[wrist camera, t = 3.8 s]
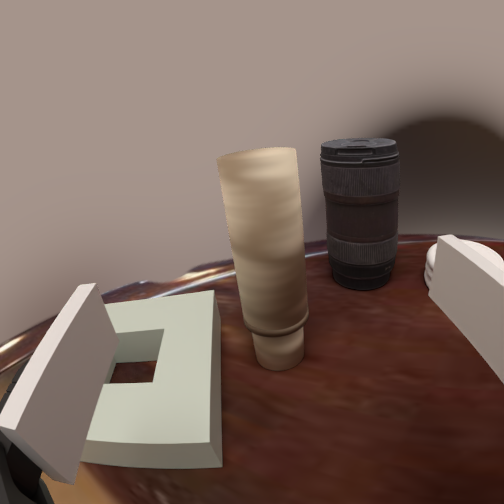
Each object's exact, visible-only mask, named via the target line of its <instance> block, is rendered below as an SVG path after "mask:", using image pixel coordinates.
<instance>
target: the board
mask: <svg viewBox="0 0 504 504" xmlns="http://www.w3.org/2000/svg"><path fill="white" fill-rule="evenodd" d="M104 305H105V308H106V310H107V313H108V315H109V318H110V320H111V322H112V325H113V327H114V330H115V332H116V334H117V337H118V339H119V343H118V346H117V349H116V351H115V354H114V357H113V359H112V362H111V365H110V368H109V370H108V373H107V376H106V379H105V382H104V385H103V388H102V391H101V393H100V396H99V399H98V402H97V406H96V409H95V412H94V415H93V418H92V421H91V425H90V428H89V431H88V434H87V438H86V441H85V445H84V448H83V452H82V456H81V459H80V461H82V462H89V463H96V464H104V465H114V466H124V467H138V468H162V469H192V468H216V467H223V463H222V425H221V319H220V314H219V310H218V306H217V302H216V297H215V293H214V290H211V291H204V292H197V293H190V294H182V295H175V296H167V297H160V298H152V299H144V300H136V301H128V302H120V303H111V304H104ZM156 360H157V365H156V370H155V374H154V379H153V382H152V383H126V384H109V383H110V380H111V377H112V374H113V371H114V368H115V365H116V363H123V362H141V361H156Z"/></svg>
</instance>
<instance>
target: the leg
mask: <svg viewBox="0 0 504 504" xmlns="http://www.w3.org/2000/svg"><path fill="white" fill-rule="evenodd" d="M217 165H218V171H219V177H220V183H221V189H222V194H223V201H224V207H225V213H226V219H227V225H228V231H229V237H230V242H231V248H232V254H233V260H234V265H235V271H236V277H237V282H238V288H239V293H240V299H241V304H242V310H243V319H244V324H245V326H246V327H247V329H248V330H249V331H251V332H252V335H253V341H254V347H255V353H256V358H257V361H258V363H259V364H260V365H261V366H262V367H264V368H266V369H269V370H273V371H283V370H288V369H291V368H293V367H295V366H296V365H298V364H299V363H300V362H301V361H302V359H303V357H304V335H303V326H304V325H305V324H306V322H307V320H308V316H309V314H308V304H307V285H306V267H305V250H304V236H303V222H302V210H301V198H300V187H299V177H298V176H299V175H298V165H297V155H296V149H295V148H289V147H272V148H260V149H252V150H246V151H240V152H235V153H231V154H227V155H224V156H221V157H219V158H217Z"/></svg>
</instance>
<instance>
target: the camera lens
mask: <svg viewBox="0 0 504 504" xmlns="http://www.w3.org/2000/svg"><path fill="white" fill-rule="evenodd" d="M320 156H321V158H320V161H321V172H322V185H323V190H324V196H325V201H326V219H327V249H328V254H329V263H330V265H331V267H332V268H333V276H334V279H335V280H336V281H337V282H338V283H339V284H341V285H343V286H345V287H348V288H351V289H357V290H369V289H375V288H378V287H380V286H383V285H384V284H385V283H386V282H387V281H388V280H389V277H390V271H391V270H392V268H393V267H394V264H395V257H396V252H397V243H398V230H397V229H398V196H399V189H400V163H399V152H398V151H397V145H396V142H395V141H394V140H389V139H380V138H378V139H377V138H352V139H339V140H333V141H328V142H325V143H322V144H321V154H320Z"/></svg>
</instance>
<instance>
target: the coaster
mask: <svg viewBox="0 0 504 504" xmlns="http://www.w3.org/2000/svg"><path fill="white" fill-rule="evenodd" d="M461 241H462V242H464V243H465V244H466V245H468V246H469V247H471V248H472V249H474V250H475V251H476V252H478V253H479V254H481V255H482V256H483V257H485V258H486V259H487V260H489V261H490V262H492V263H493V264H494V265H496V266H497V267H498V268H500V269H501V270H502V271H503V272H504V261H503V259H502V258H501V257H500V256H499V255H498V254H497V253H496V252H495V251H493V250H492V249H490V248H488V247H486V246H484V245H482V244H479V243H476V242H472V241H467V240H461ZM436 248H437V243H436V244H435V245H433V246H432V247H431V248H430V249H429V251H428V253H427V262H426V265H425V266H426V270H425V273H424V278H425V282H426V285H427V286H428V288H429V289H430V284H431V279H432V273H433V268H434V261H435V255H436Z"/></svg>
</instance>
